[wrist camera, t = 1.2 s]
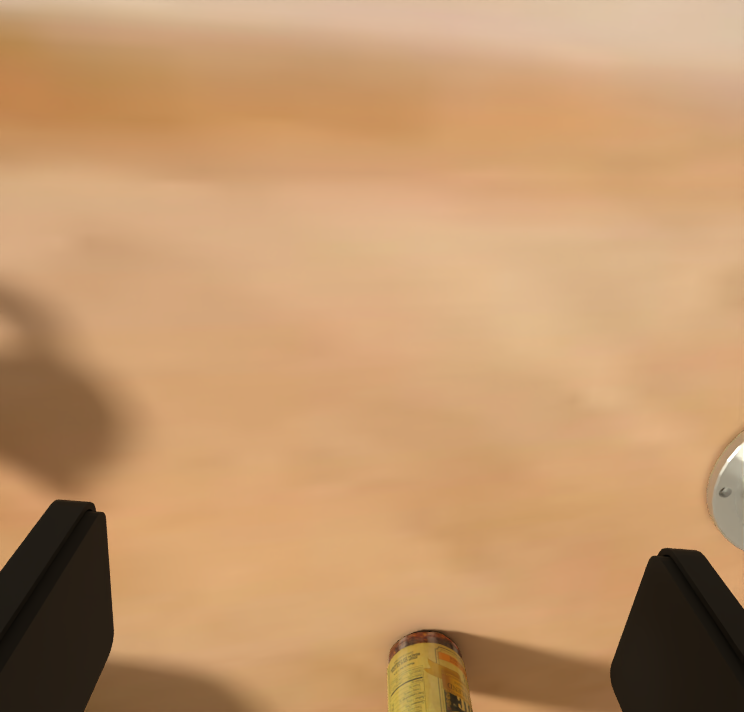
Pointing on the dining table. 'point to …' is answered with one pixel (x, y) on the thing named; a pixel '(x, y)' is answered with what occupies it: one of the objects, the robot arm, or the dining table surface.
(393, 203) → the dining table surface
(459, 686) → the sauce bottle
